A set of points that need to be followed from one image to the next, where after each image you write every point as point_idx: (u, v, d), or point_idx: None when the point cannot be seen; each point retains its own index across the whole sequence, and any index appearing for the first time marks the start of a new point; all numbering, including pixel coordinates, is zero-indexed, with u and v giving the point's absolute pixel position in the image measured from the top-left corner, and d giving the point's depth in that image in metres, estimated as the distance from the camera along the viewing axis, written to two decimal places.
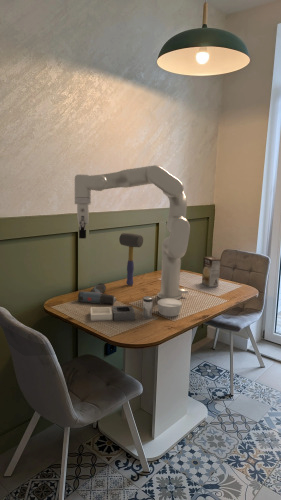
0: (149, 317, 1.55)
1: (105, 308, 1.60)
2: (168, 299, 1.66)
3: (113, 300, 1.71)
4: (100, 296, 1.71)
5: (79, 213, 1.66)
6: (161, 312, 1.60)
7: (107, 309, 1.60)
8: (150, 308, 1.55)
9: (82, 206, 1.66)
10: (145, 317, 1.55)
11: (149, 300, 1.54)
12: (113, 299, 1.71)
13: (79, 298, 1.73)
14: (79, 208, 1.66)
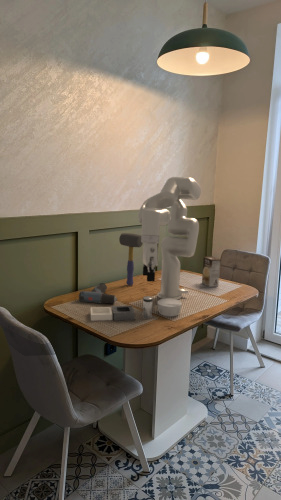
0: (149, 317, 1.55)
1: (105, 308, 1.60)
2: (168, 299, 1.66)
3: (114, 300, 1.71)
4: (101, 296, 1.72)
5: (148, 253, 1.47)
6: (161, 312, 1.60)
7: (107, 309, 1.60)
8: (150, 308, 1.55)
9: (151, 245, 1.47)
10: (145, 317, 1.55)
11: (149, 300, 1.54)
12: (114, 299, 1.71)
13: (80, 298, 1.73)
14: (148, 248, 1.47)
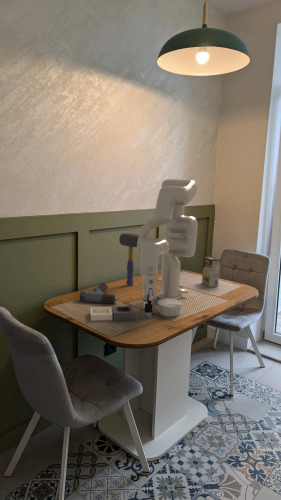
0: (149, 317, 1.55)
1: (105, 308, 1.60)
2: (168, 299, 1.66)
3: (114, 299, 1.71)
4: (102, 295, 1.72)
5: (147, 285, 1.49)
6: (161, 312, 1.60)
7: (107, 309, 1.60)
8: None
9: (150, 277, 1.49)
10: (145, 317, 1.55)
11: None
12: (114, 298, 1.71)
13: (81, 297, 1.73)
14: (147, 279, 1.49)
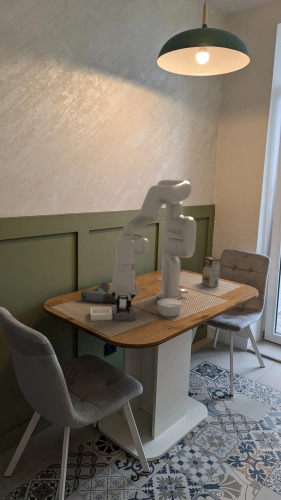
0: None
1: (105, 308, 1.60)
2: (168, 299, 1.66)
3: None
4: (103, 295, 1.73)
5: (134, 281, 1.51)
6: (161, 312, 1.60)
7: (107, 309, 1.60)
8: None
9: (134, 272, 1.52)
10: None
11: None
12: None
13: (82, 297, 1.74)
14: (133, 275, 1.51)
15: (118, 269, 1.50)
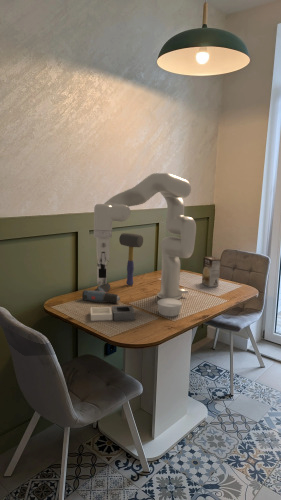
0: (103, 283, 1.52)
1: (105, 308, 1.60)
2: (168, 299, 1.66)
3: (116, 299, 1.72)
4: (104, 295, 1.73)
5: (99, 248, 1.46)
6: (161, 312, 1.60)
7: (107, 309, 1.60)
8: None
9: (103, 240, 1.45)
10: (99, 283, 1.51)
11: None
12: (116, 298, 1.72)
13: (83, 297, 1.75)
14: (99, 243, 1.45)
15: None
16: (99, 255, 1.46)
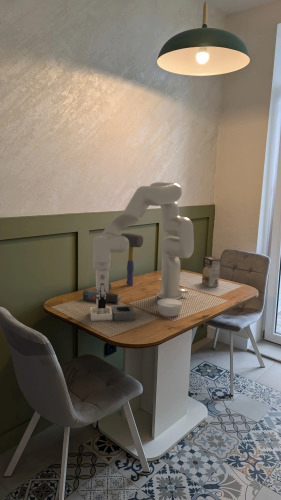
0: None
1: None
2: (168, 299, 1.66)
3: (117, 299, 1.73)
4: None
5: (98, 280, 1.48)
6: (161, 312, 1.60)
7: (107, 309, 1.60)
8: None
9: (102, 272, 1.48)
10: None
11: None
12: (117, 298, 1.73)
13: (84, 296, 1.75)
14: (98, 275, 1.48)
15: None
16: (98, 287, 1.48)
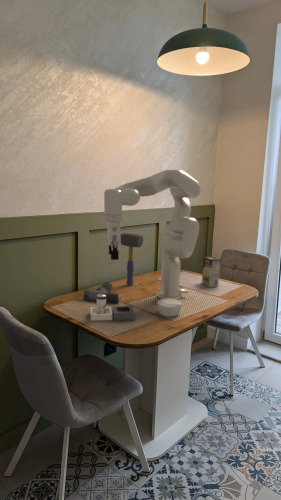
0: None
1: None
2: (168, 299, 1.66)
3: (118, 298, 1.73)
4: (105, 294, 1.74)
5: (111, 232, 1.50)
6: (161, 312, 1.60)
7: (107, 309, 1.60)
8: (103, 306, 1.54)
9: (114, 224, 1.50)
10: None
11: (102, 298, 1.53)
12: (118, 297, 1.73)
13: (85, 296, 1.76)
14: (110, 227, 1.50)
15: None
16: (110, 239, 1.51)
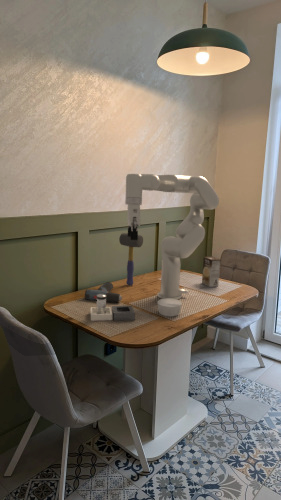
0: None
1: None
2: (168, 299, 1.66)
3: (119, 298, 1.73)
4: (106, 294, 1.74)
5: (131, 214, 1.60)
6: (161, 312, 1.60)
7: (107, 309, 1.60)
8: (103, 306, 1.54)
9: (134, 206, 1.60)
10: None
11: (102, 298, 1.53)
12: (119, 297, 1.73)
13: (86, 296, 1.76)
14: (131, 209, 1.60)
15: None
16: (131, 220, 1.61)
